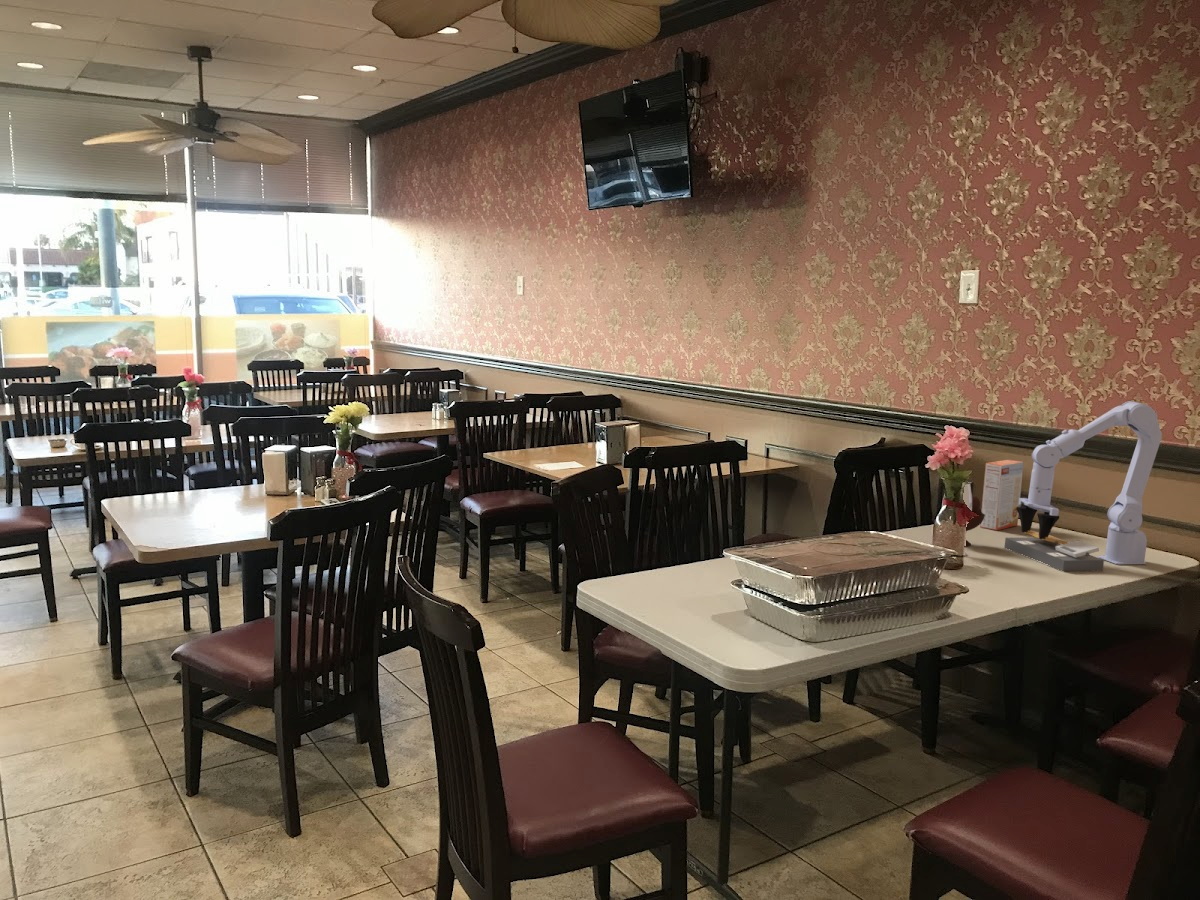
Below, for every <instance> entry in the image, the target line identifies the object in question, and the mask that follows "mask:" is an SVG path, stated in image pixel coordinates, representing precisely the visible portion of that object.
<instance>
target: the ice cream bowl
mask: <svg viewBox="0 0 1200 900" xmlns="http://www.w3.org/2000/svg"><path fill="white" fill-rule="evenodd" d="M971 494H972V512H974V513H976V514H977V515H979V516H978V517H974V518H972V519H971V520H970V521H969V523H968V524H967V527H966V532H968V531H971V530H974V529H975V528H977V527H979V526H980V524H981V523H982V521H983V520H984V517H985V514H983V513H982V508H981V501H980V498H978V497H977V495H975V494H973V493H971ZM966 547H972V544H971V542H970V541H968V540H967V539H966Z"/></svg>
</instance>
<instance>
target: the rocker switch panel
mask: <svg viewBox="0 0 1200 900" xmlns="http://www.w3.org/2000/svg"><path fill="white" fill-rule="evenodd" d="M1004 541H1005V542H1004V547H1003V548H1004V549H1006V548H1007V549H1006V550H1009V549H1010V550H1009V551H1011V550H1012V552H1013V551H1015V552H1014V553H1016V552H1018V553H1020V554H1019V555H1021V554H1023V555H1025V556H1024V557H1026V556H1028V557H1030V558H1029V559H1031V558H1033V559H1035V560H1038V561H1041V562H1043V563H1045V564H1048V565H1050V566H1052V567H1051V568H1053V567H1055V568H1057V569H1059V570H1058V571H1060V570H1062V571H1078V572H1103V571H1104V564H1105V560H1104V559H1101V558H1098V557H1097V556H1094V555H1091V554H1089V556H1088V557H1087V556H1084V555H1083V556H1080V557H1076V558H1075V557H1073V556H1070V555H1068V554H1065V553H1062V552H1060V551H1057V550H1056V548H1055V546H1059V545H1063V544H1059V543H1058V544H1057V545H1054V544H1052V543H1049V542H1046V541H1044V540H1041V539H1038V538H1036V537H1034V536H1033V537H1005V539H1004ZM1018 553H1017V554H1018ZM1023 555H1022V556H1023ZM1028 557H1027V558H1028ZM1033 559H1032V560H1033ZM1035 560H1034V561H1035ZM1038 561H1037V562H1038ZM1043 563H1042V564H1043ZM1045 564H1044V565H1045ZM1048 565H1047V566H1048ZM1050 566H1049V567H1050ZM1055 568H1054V569H1055ZM1057 569H1056V570H1057ZM1062 571H1061V572H1062Z"/></svg>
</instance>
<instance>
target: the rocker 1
mask: <svg viewBox="0 0 1200 900" xmlns="http://www.w3.org/2000/svg"><path fill="white" fill-rule="evenodd" d="M1024 534H1027V535H1030V536H1032V537H1033V538H1034V537H1036V538H1038V539H1040V538H1039V531H1035V530H1030V531H1029V530H1028V532H1024ZM1041 540H1044V541H1046V542H1049V543H1052V544H1054V545H1057V544H1058V543H1059V544H1062V545H1063V544H1066V543H1068V541H1067V540H1064V539H1061V538H1058V537H1056V536H1053V535H1050V534H1049V536H1048V537H1045V539H1041Z"/></svg>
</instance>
